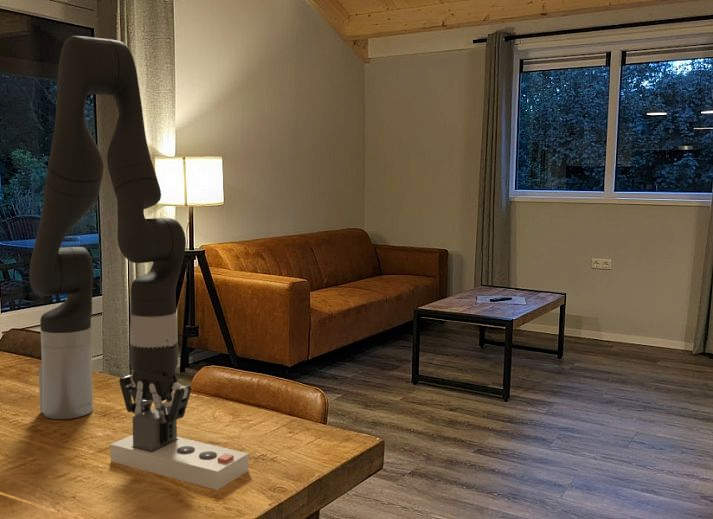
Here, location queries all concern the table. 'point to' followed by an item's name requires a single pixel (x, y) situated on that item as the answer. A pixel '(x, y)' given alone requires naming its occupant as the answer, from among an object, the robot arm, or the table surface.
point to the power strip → (185, 461)
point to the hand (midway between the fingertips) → (155, 440)
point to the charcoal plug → (149, 431)
